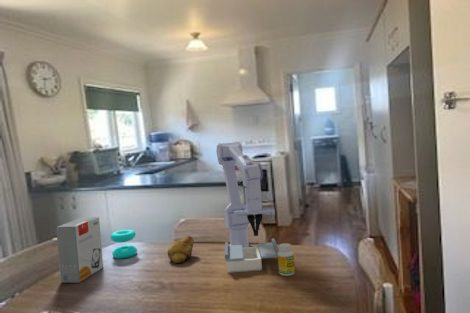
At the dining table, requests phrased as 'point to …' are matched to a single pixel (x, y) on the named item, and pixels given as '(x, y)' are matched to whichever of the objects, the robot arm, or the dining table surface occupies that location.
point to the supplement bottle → (286, 260)
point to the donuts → (123, 250)
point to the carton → (246, 261)
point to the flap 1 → (233, 252)
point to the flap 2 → (268, 249)
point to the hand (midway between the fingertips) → (255, 235)
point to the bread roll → (181, 250)
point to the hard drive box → (79, 249)
